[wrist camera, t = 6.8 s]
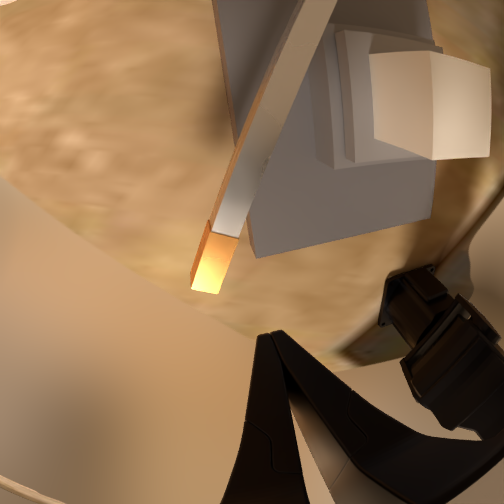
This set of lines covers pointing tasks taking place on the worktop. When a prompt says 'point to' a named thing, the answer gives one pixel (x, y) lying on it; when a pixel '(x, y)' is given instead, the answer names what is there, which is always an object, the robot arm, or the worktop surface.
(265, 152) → the latch bar
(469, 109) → the plug
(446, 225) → the worktop surface
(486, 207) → the worktop surface
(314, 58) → the socket block
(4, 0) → the mug
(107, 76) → the worktop surface
